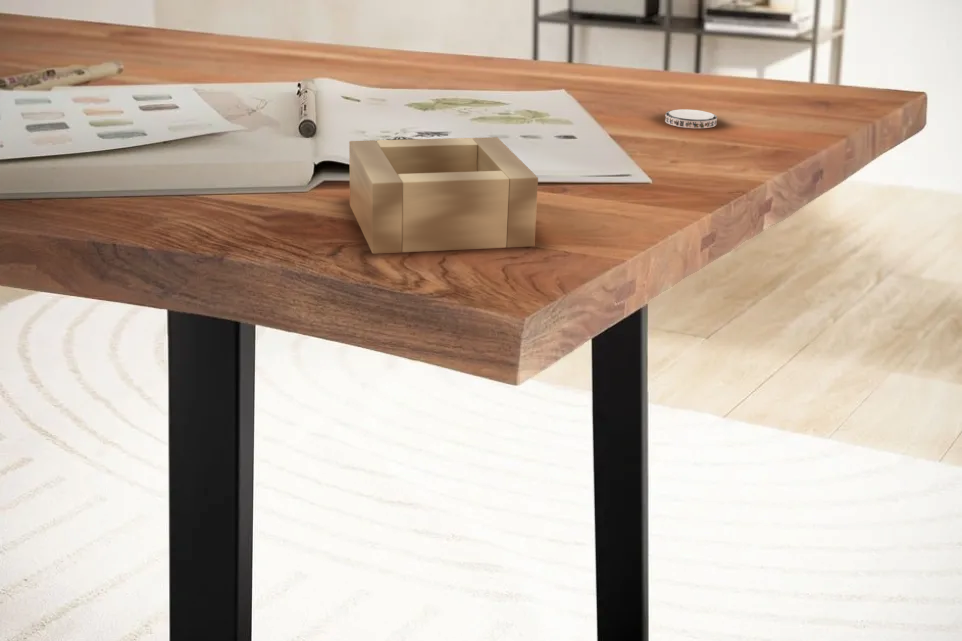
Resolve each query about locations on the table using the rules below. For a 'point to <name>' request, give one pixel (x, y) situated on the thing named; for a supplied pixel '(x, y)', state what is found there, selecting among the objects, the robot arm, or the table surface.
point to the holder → (441, 194)
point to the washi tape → (690, 118)
